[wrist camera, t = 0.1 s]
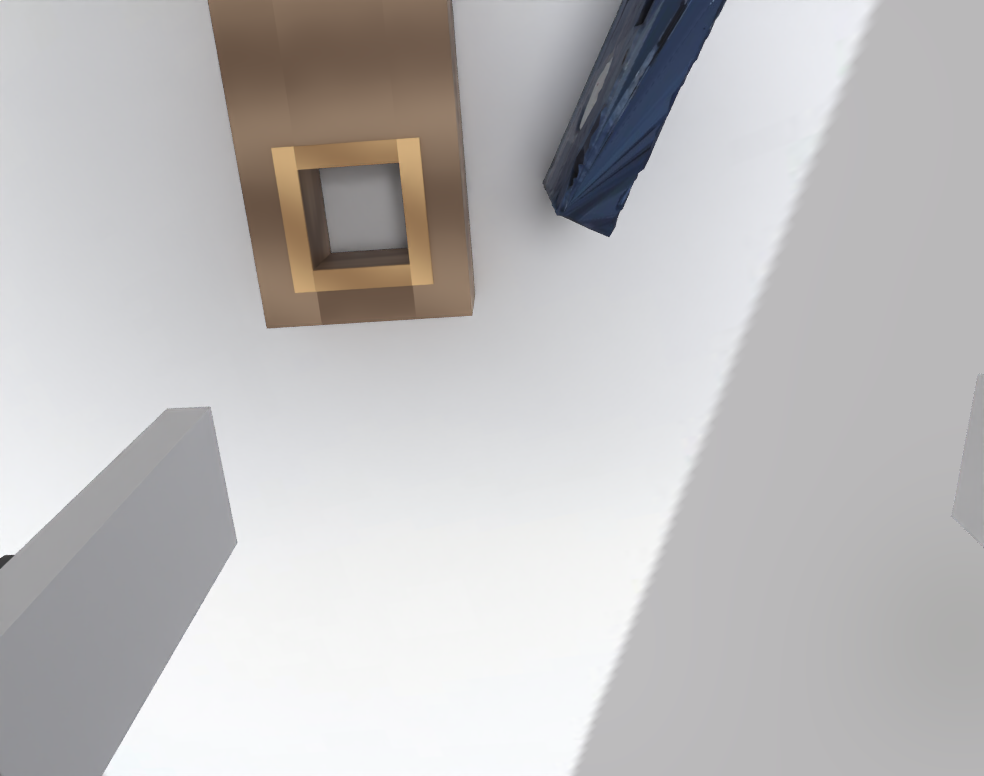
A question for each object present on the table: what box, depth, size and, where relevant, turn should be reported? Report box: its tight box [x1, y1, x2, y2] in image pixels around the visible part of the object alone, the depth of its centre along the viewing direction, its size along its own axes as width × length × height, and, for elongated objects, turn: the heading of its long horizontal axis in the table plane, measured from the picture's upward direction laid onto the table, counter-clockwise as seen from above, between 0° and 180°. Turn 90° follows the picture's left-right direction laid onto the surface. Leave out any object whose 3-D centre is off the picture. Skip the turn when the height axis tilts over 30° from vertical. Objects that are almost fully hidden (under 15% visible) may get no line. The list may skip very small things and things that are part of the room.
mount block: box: [208, 0, 475, 328], centre depth 35 cm, size 24×10×4 cm, turn 4°
